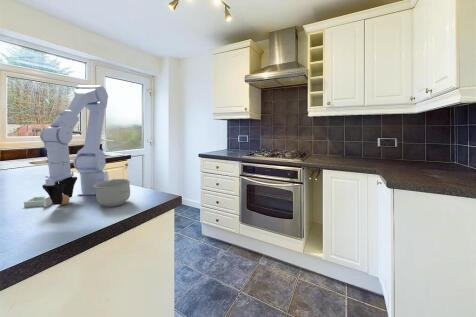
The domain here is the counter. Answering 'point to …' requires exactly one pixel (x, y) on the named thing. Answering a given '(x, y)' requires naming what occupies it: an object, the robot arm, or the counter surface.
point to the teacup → (112, 192)
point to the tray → (34, 202)
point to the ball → (65, 199)
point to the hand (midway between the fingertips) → (63, 200)
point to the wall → (47, 201)
